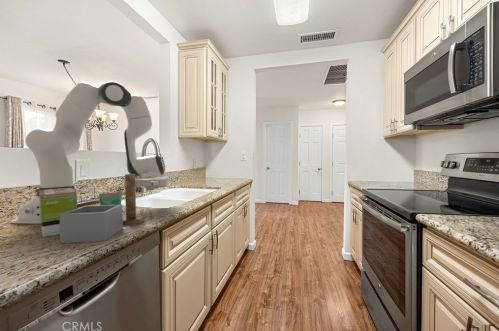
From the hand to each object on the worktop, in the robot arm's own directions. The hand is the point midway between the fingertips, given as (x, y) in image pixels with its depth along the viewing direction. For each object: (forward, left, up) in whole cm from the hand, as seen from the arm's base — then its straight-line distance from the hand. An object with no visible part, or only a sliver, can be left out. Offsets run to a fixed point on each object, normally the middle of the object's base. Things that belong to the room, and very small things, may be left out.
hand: (141, 184), depth 102 cm
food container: (-16, +10, -15) cm, 24 cm away
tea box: (-24, -16, -15) cm, 33 cm away
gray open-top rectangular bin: (-7, -26, -15) cm, 30 cm away
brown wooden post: (0, -12, -15) cm, 19 cm away
